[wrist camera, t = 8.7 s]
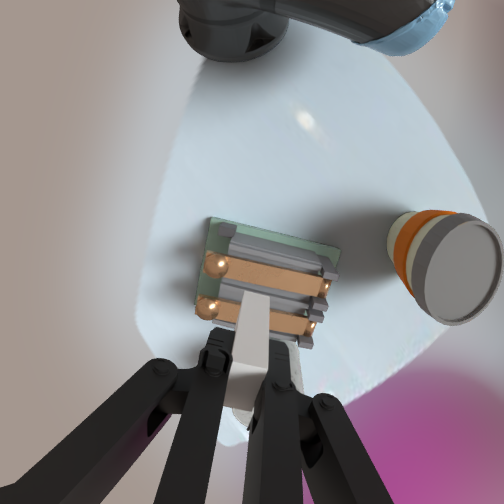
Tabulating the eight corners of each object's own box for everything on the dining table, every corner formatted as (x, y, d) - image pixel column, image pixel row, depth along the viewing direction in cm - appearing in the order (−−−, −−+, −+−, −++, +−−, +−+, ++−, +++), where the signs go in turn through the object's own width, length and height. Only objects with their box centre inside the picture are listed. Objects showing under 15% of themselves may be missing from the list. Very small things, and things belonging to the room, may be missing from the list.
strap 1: (208, 248, 35) (206, 252, 33) (331, 275, 36) (334, 280, 34) (203, 270, 35) (201, 275, 34) (324, 296, 37) (327, 302, 35)
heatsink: (212, 216, 41) (199, 228, 33) (339, 248, 41) (354, 267, 33) (195, 301, 44) (182, 328, 36) (311, 328, 45) (319, 359, 37)
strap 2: (199, 291, 36) (197, 297, 35) (317, 315, 38) (319, 321, 36) (195, 310, 37) (193, 317, 35) (310, 333, 38) (312, 340, 37)
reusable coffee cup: (456, 218, 39) (518, 242, 24) (425, 290, 42) (474, 336, 28) (394, 185, 38) (452, 197, 24) (361, 266, 42) (402, 313, 27)
